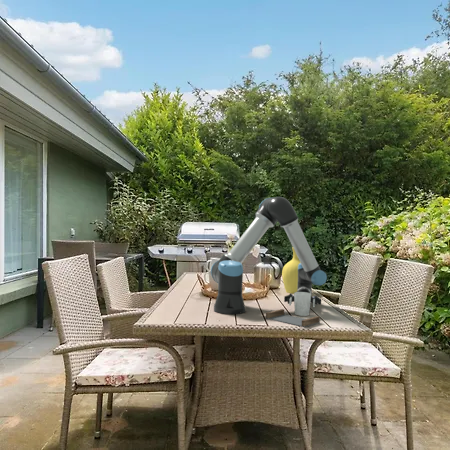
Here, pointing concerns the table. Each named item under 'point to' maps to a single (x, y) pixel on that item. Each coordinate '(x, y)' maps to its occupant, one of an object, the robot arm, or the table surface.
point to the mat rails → (304, 322)
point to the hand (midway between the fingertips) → (301, 303)
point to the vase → (291, 274)
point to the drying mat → (290, 320)
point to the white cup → (302, 303)
